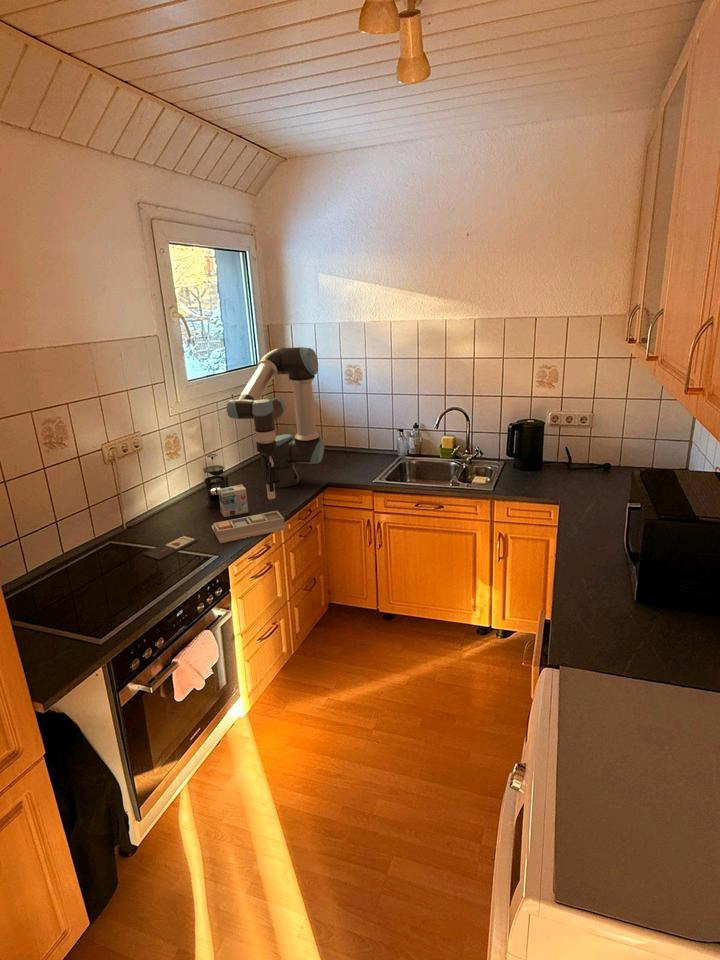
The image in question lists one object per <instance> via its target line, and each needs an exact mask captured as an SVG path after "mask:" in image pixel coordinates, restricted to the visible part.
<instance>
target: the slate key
mask: <svg viewBox="0 0 720 960" xmlns="http://www.w3.org/2000/svg"><path fill="white" fill-rule="evenodd" d="M234 525H235V527H238V526H243V525H248V524H247V523H246V521H241V522H236V523H234Z"/></svg>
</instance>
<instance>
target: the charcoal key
mask: <svg viewBox="0 0 720 960" xmlns="http://www.w3.org/2000/svg"><path fill="white" fill-rule="evenodd" d="M266 518H267V519H268V520H273V519H278V518H279V516H278V515H277V514H276V515H271V516H266Z"/></svg>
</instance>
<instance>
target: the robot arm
mask: <svg viewBox="0 0 720 960" xmlns="http://www.w3.org/2000/svg"><path fill="white" fill-rule="evenodd" d="M318 372H319V361H318V356H317V353H316V352H315V350H314V349H313V348H311V347H303V346H302V347H301V346H299V347H278V348H274V349H272V350H270V351H269V352H267V353H266V354H265V355H263V356H262V357H261V358H260V359H259V361H258V362H257V363H256V370H255V371H254V373H253V374H252V377H250V379H249V380H248V381H247V382H248V383H246V385H245V387H244V389H243V390H242V392H241V394H240V395H239V396H238V397H237V399H235V398H234V399H230V400H228V401H227V404H226V413H227V416H228V417H229V418H230V419H235V420H236V419H237V420H253V424H254V432H255V433H253V436H254V437H255V444H256V445H255V446H256V451H257V452H258V453H260V455H259V456H260V460H261V466H262V470H263V471H262V472H263V473H262V474H263V479H264V480H265V485H266V491H267V493H266V494H267V500H273V499H276V498H277V497H276V490H275V488H282V489H283V488H290V487H293V486H296V485H298V484H299V482H300V479H299V474H298V472H297V470H296V467H295V464H310V465H312V464H319V463H320V462H322V459H323V457H324V453H325V441H324V439H323V438H320V433H318V432H317V429H316V428H317V427H316V418H315V417H316V416H315V405H314V394H313V393H314V391H313V380H314V379H315V375H317V374H318ZM280 375H287V376H288V380H289V381H290V382H291V383H292V388H293V400H294V409H295V421H296V434H294V438H293V435H292V434H284V433H283V434H281V435H280V434H278V435H276V426H275V421H276V420H277V419H279V418H281V417H282V415H284V413H285V411H286V405H285V403H284V401H283V400H282V399H281V398H278V397H274V398H270V399H265V398H263V399H261V398H262V396H264V393H265V391H266V390H267V388H268V386H269V384H270V382H271V381H272V380H273V379H276V377H277V376H280Z"/></svg>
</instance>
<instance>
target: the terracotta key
mask: <svg viewBox="0 0 720 960" xmlns="http://www.w3.org/2000/svg"><path fill="white" fill-rule="evenodd" d="M225 521H226V522H222V521H220V522H221V523H217V522H216V523H217V527H218V528H219V530H223V529H228V528H231V524H230V523H229V521H227V520H225Z"/></svg>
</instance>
